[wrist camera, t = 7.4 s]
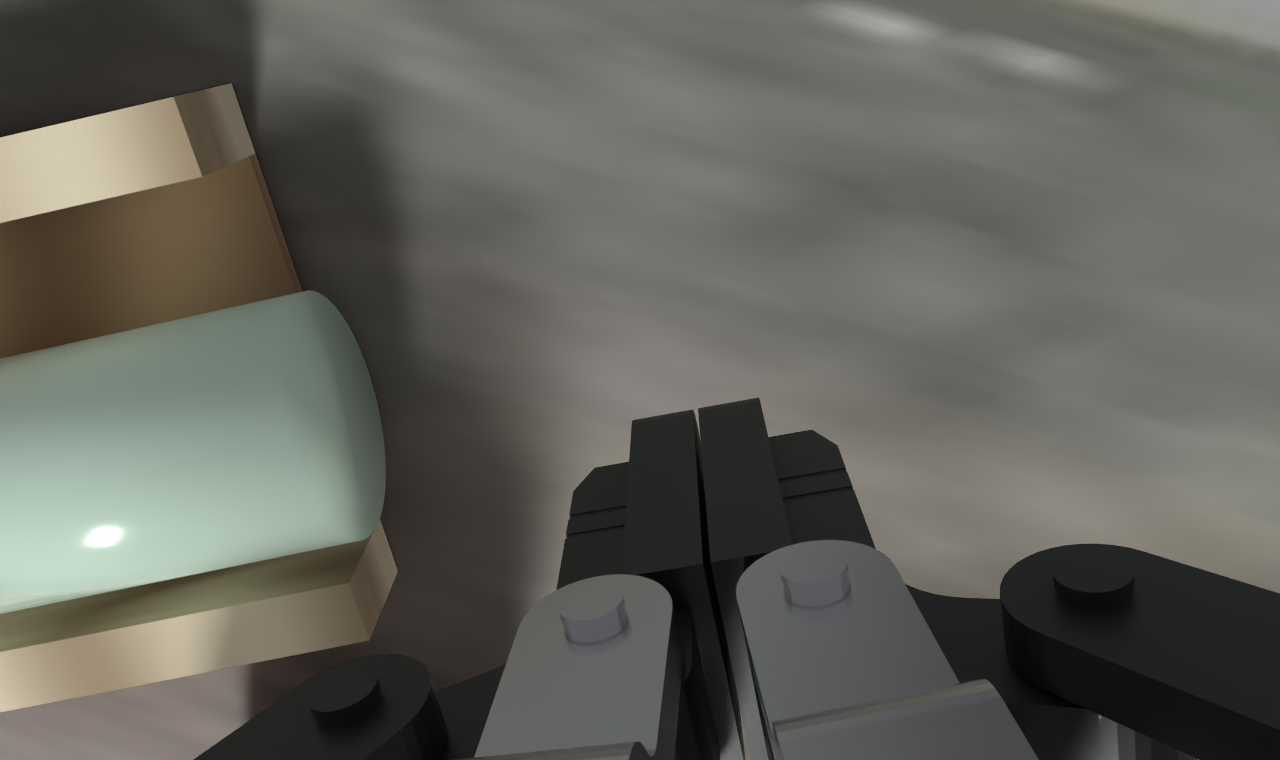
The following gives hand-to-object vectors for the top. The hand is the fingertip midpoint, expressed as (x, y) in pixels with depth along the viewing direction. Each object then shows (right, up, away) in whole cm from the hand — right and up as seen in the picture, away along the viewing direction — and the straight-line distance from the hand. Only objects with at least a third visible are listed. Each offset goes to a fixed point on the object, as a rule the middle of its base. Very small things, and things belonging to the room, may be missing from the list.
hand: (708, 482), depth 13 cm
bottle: (-7, 0, +9) cm, 12 cm away
